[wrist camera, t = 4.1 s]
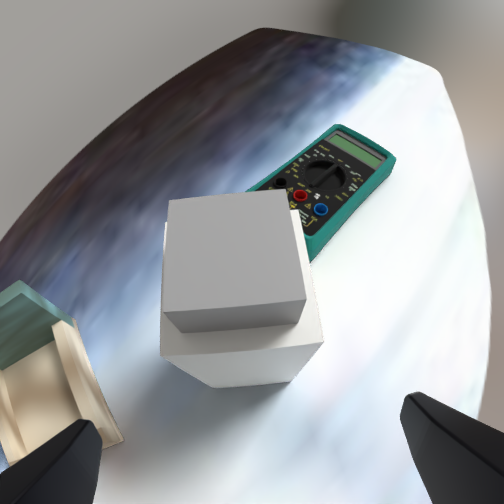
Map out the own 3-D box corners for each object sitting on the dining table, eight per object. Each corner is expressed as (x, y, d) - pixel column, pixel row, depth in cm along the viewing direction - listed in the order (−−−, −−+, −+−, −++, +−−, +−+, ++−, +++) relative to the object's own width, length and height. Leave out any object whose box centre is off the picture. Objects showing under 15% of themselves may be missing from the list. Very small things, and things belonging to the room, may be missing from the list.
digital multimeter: (233, 219, 25) (230, 196, 23) (334, 138, 31) (338, 116, 28) (302, 273, 23) (307, 253, 20) (392, 174, 28) (400, 153, 25)
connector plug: (291, 381, 18) (339, 321, 7) (213, 388, 18) (136, 339, 7) (281, 309, 21) (303, 171, 10) (209, 316, 21) (150, 186, 10)
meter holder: (124, 440, 16) (64, 443, 10) (33, 473, 14) (-31, 474, 8) (75, 319, 21) (19, 279, 14) (-2, 365, 18) (-60, 339, 12)
